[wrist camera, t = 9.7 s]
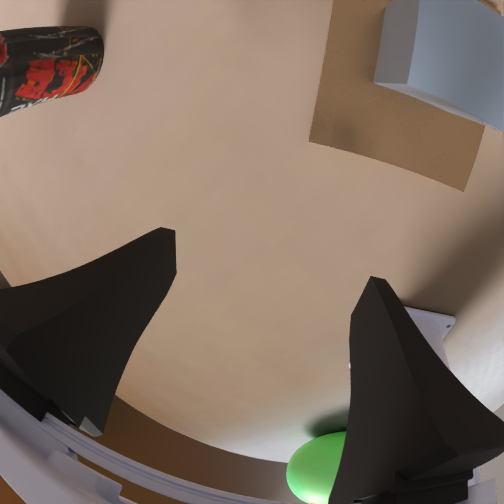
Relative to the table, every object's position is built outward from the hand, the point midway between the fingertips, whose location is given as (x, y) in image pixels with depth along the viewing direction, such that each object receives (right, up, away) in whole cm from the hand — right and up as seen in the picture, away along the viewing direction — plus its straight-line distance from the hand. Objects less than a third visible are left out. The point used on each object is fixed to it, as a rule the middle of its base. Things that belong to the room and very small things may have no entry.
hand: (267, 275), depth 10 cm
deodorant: (-14, +16, +5) cm, 22 cm away
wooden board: (+9, +12, +2) cm, 15 cm away
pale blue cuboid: (+9, +12, +1) cm, 15 cm away
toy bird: (+15, -30, +29) cm, 45 cm away
